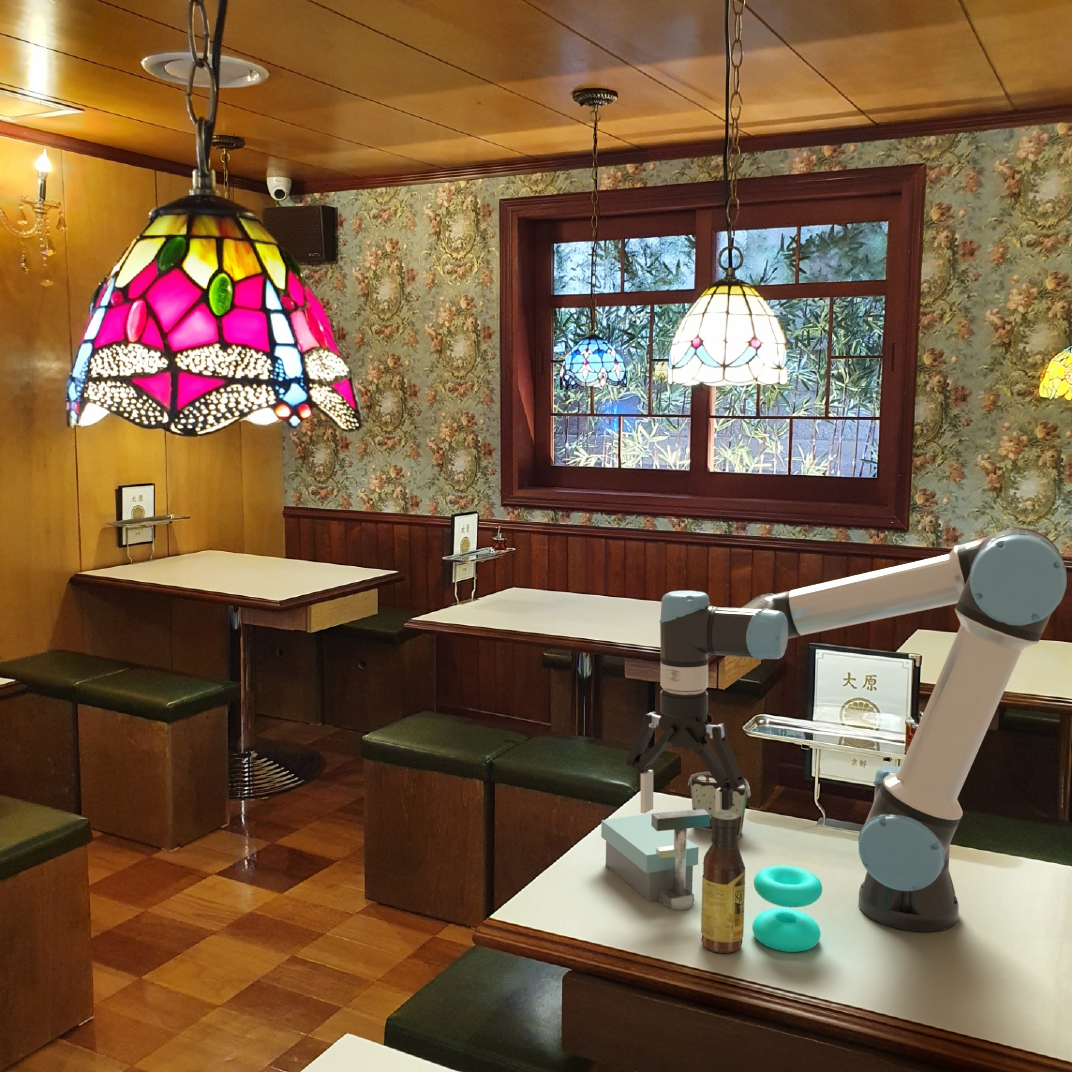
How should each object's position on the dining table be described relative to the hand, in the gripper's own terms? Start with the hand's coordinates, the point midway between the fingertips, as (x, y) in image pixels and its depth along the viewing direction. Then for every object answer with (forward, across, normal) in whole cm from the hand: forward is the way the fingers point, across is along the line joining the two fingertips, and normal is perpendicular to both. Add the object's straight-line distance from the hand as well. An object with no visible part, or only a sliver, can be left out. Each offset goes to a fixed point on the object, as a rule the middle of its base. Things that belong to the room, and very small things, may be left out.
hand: (683, 819), depth 174 cm
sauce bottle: (+14, +11, -8) cm, 20 cm away
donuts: (+15, +18, -1) cm, 23 cm away
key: (+12, -1, 0) cm, 12 cm away
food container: (+14, -11, +35) cm, 39 cm away
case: (+14, -8, +4) cm, 16 cm away
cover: (+9, -10, +5) cm, 14 cm away
